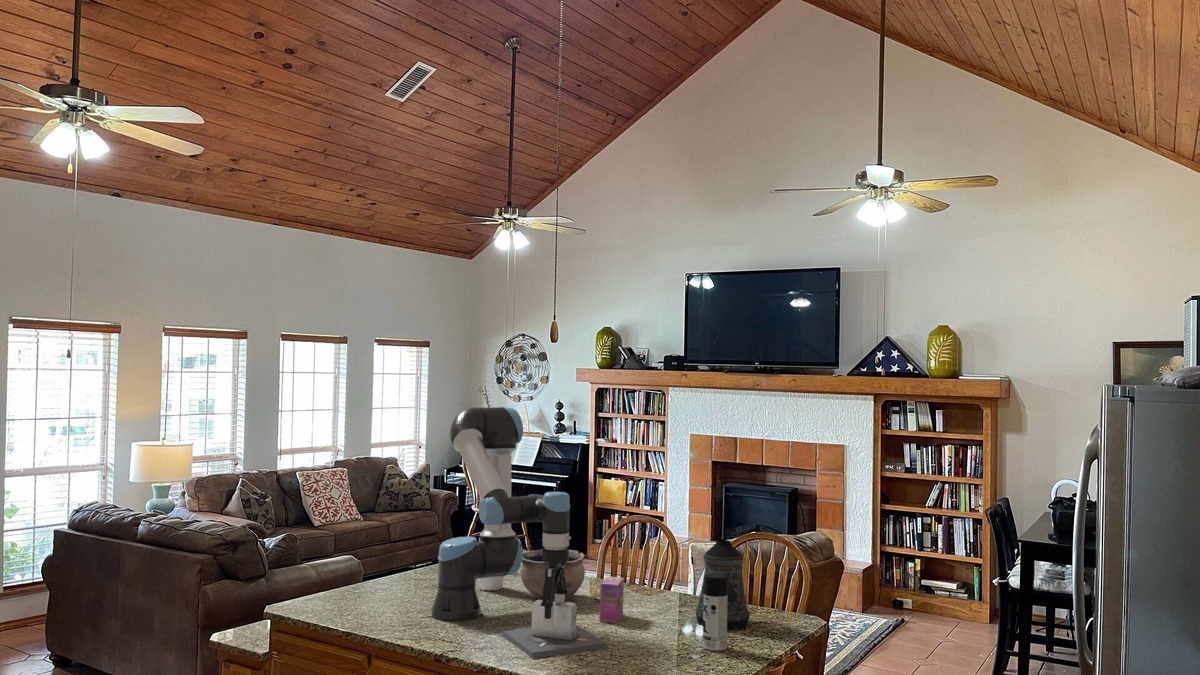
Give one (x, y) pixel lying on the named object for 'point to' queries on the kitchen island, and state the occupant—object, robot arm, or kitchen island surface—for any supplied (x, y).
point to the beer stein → (728, 563)
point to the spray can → (715, 612)
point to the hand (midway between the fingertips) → (553, 623)
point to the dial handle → (555, 620)
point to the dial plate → (552, 643)
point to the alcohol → (490, 583)
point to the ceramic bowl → (536, 568)
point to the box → (611, 599)
